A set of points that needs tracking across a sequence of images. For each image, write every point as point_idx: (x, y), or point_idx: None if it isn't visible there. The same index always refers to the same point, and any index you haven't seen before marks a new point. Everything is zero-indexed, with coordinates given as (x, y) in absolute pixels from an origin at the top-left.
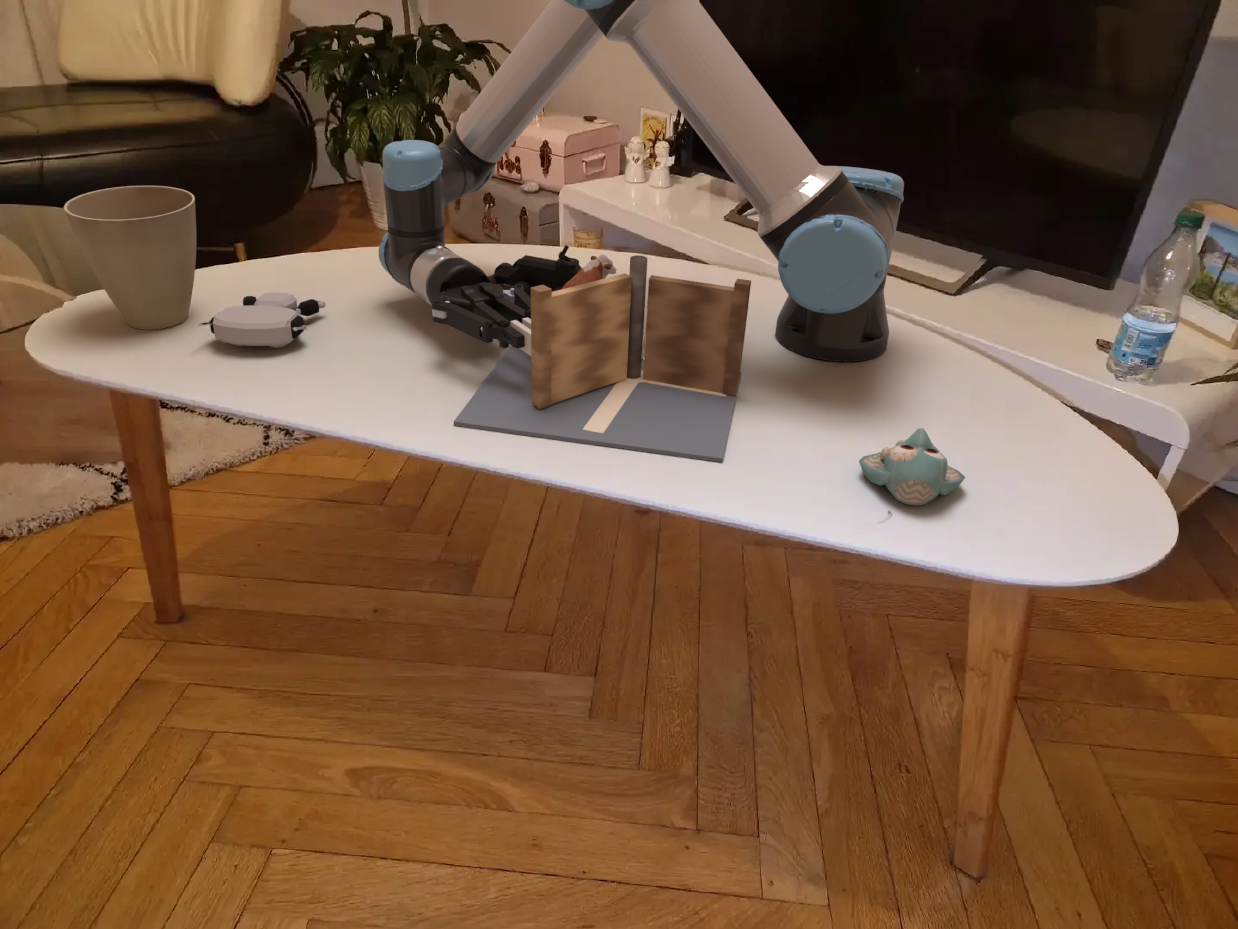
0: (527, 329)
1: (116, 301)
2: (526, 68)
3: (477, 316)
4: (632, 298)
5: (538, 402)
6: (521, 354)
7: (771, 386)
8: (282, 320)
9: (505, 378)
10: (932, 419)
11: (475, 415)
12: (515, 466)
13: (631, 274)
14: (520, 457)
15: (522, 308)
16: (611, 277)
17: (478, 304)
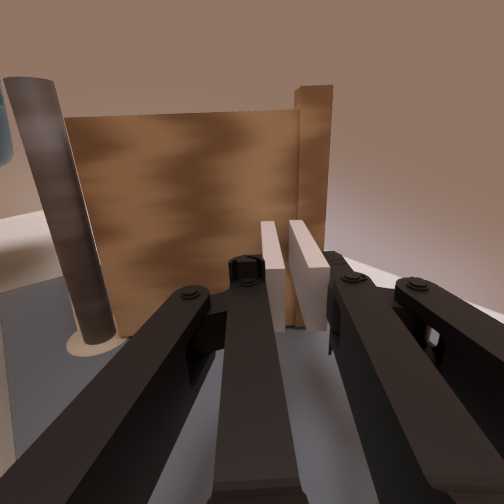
0: (304, 239)
1: None
2: None
3: (468, 327)
4: (77, 176)
5: None
6: None
7: (23, 278)
8: None
9: (331, 444)
10: (38, 233)
11: (429, 340)
12: (379, 270)
13: (60, 120)
14: (370, 277)
15: (143, 448)
16: (110, 116)
17: (490, 476)
